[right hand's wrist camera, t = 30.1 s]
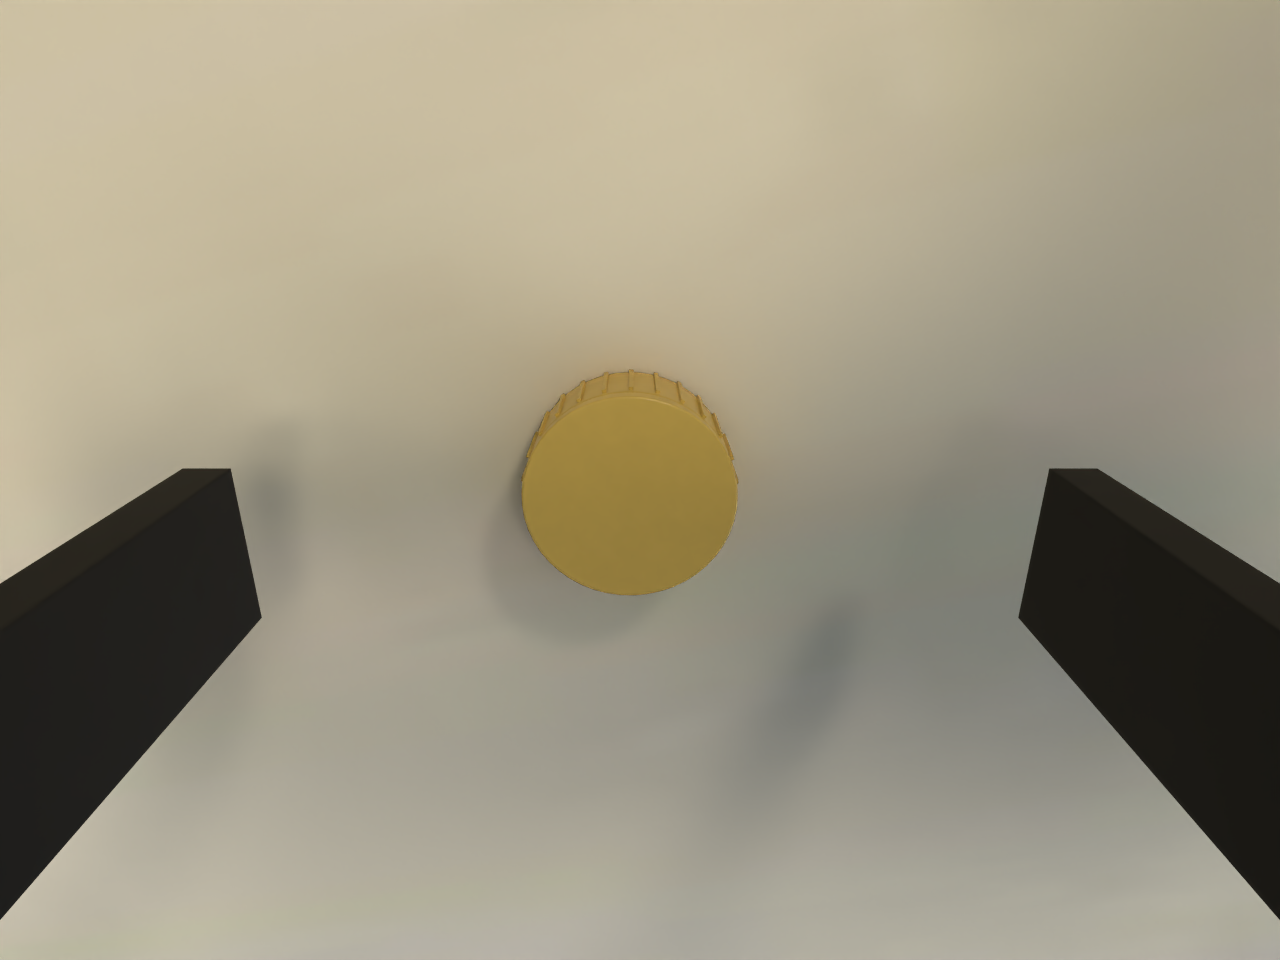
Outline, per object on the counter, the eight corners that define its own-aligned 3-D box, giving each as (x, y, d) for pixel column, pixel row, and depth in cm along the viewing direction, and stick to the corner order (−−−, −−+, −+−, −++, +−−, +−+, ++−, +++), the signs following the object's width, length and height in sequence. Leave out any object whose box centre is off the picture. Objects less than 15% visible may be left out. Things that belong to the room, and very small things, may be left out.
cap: (603, 327, 15) (600, 347, 13) (769, 443, 16) (786, 477, 14) (493, 487, 16) (475, 525, 14) (653, 587, 17) (655, 633, 15)
